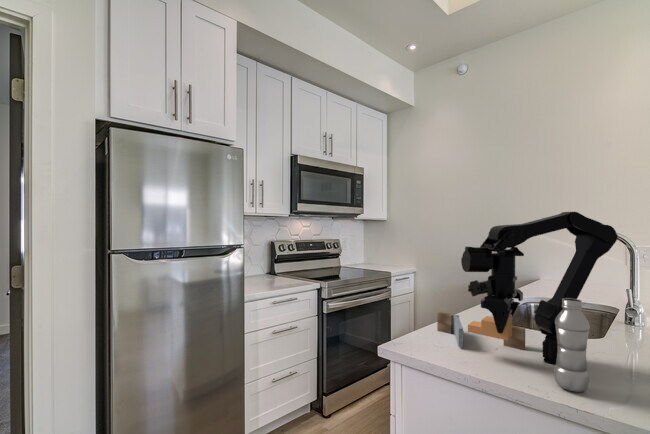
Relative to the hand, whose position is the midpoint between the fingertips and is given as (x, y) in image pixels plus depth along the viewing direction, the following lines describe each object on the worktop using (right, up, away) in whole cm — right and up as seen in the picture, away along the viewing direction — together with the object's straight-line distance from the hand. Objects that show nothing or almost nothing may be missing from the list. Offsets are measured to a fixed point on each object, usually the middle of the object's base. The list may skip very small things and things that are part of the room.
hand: (502, 330), depth 92 cm
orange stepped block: (-2, -2, +2) cm, 4 cm away
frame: (+1, -8, +18) cm, 19 cm away
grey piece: (-6, -8, +16) cm, 19 cm away
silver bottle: (+8, -8, -15) cm, 19 cm away
